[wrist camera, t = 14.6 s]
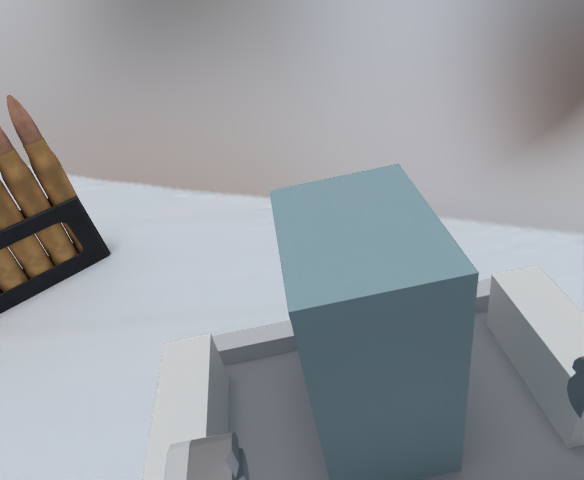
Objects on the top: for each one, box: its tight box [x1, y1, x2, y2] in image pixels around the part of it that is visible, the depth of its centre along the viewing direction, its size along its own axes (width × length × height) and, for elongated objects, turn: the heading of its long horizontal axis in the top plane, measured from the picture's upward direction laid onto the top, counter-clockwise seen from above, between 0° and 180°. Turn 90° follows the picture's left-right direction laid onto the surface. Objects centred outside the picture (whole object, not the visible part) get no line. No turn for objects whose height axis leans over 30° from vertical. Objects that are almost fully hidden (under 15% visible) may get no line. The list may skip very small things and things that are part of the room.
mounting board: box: [142, 265, 584, 480], centre depth 17 cm, size 16×10×4 cm, turn 97°
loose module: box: [270, 164, 479, 480], centre depth 15 cm, size 4×6×9 cm
